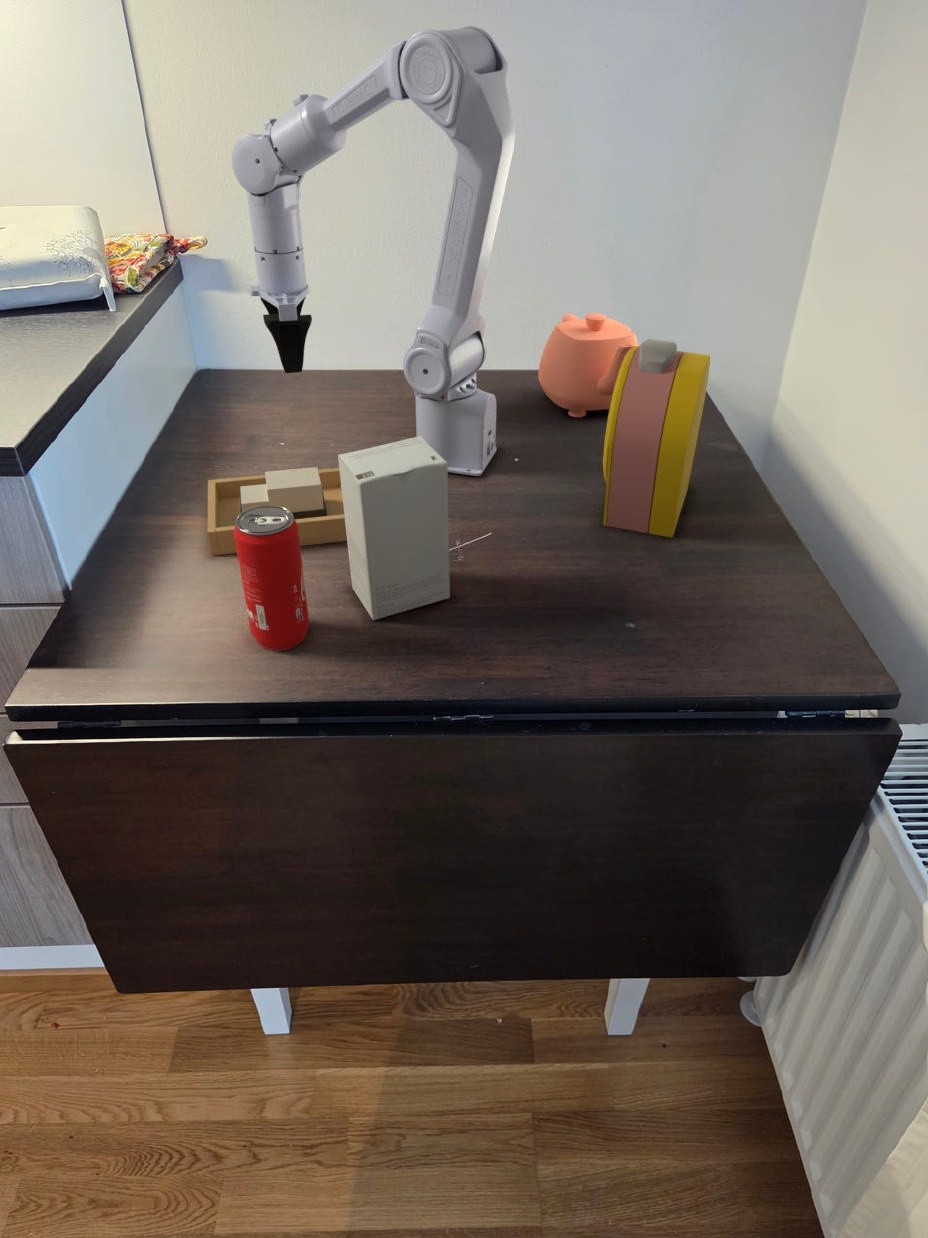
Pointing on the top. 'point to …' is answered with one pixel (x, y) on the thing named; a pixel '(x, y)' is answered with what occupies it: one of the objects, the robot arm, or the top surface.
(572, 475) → the top surface
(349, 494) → the cosmetic box
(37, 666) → the top surface
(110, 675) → the top surface
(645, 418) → the alarm clock
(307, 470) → the two-tone beige block
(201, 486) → the top surface
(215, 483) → the tray
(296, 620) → the beverage can
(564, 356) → the teapot
